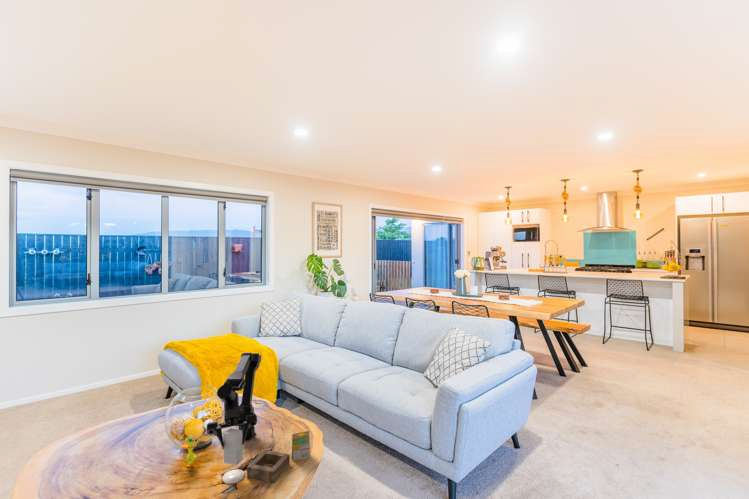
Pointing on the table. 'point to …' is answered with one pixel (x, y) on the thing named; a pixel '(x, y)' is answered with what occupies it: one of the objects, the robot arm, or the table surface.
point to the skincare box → (233, 446)
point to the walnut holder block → (265, 473)
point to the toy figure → (189, 451)
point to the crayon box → (300, 446)
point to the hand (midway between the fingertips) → (233, 446)
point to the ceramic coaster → (233, 476)
